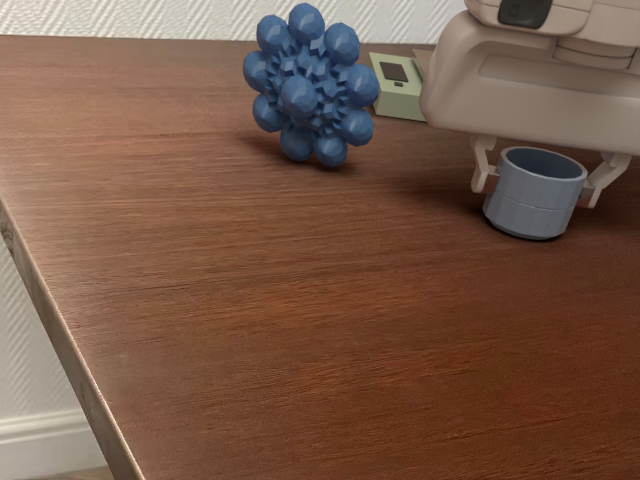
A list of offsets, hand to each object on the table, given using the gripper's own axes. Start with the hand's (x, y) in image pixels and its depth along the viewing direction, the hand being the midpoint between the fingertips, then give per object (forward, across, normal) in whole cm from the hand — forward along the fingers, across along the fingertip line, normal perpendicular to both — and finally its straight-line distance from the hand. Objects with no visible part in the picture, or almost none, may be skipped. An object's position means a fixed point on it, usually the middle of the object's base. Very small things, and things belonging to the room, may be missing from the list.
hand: (530, 197), depth 62 cm
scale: (+2, +1, -29) cm, 29 cm away
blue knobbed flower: (+2, +18, -6) cm, 19 cm away
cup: (+2, 0, 0) cm, 2 cm away
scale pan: (-1, 0, -29) cm, 29 cm away
